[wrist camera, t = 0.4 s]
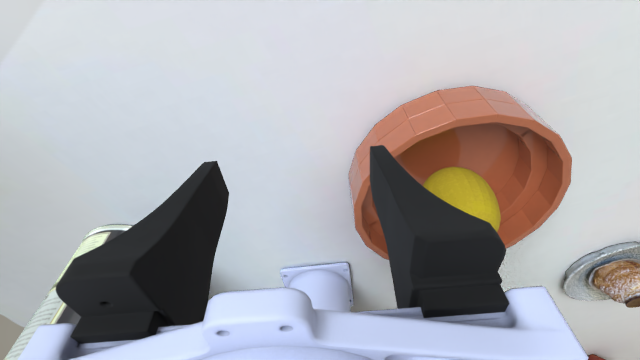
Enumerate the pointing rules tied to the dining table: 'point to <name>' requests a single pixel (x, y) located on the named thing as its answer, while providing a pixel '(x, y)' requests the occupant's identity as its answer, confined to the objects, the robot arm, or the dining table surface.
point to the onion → (594, 357)
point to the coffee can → (52, 305)
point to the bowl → (469, 156)
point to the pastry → (607, 275)
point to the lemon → (465, 193)
